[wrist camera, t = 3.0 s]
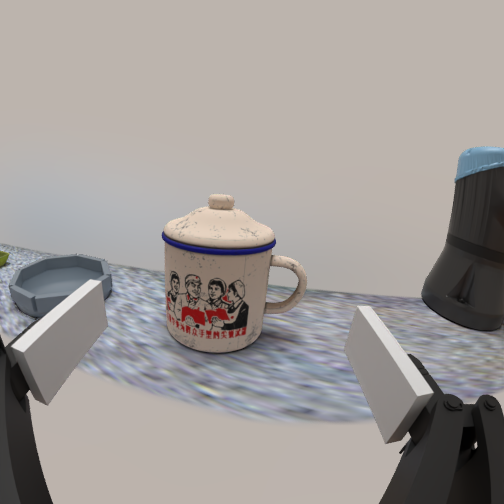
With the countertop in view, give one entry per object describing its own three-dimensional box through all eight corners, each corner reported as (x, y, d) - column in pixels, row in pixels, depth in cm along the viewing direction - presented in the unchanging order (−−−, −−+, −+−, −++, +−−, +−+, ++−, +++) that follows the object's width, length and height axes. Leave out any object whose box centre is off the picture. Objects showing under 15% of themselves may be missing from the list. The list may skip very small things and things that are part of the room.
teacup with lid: (147, 342, 20) (141, 196, 17) (184, 297, 29) (187, 188, 26) (295, 370, 19) (326, 215, 16) (295, 314, 28) (313, 201, 24)
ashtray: (130, 282, 31) (129, 264, 30) (60, 332, 19) (54, 309, 18) (64, 265, 32) (62, 249, 32) (-1, 297, 20) (-5, 279, 20)
